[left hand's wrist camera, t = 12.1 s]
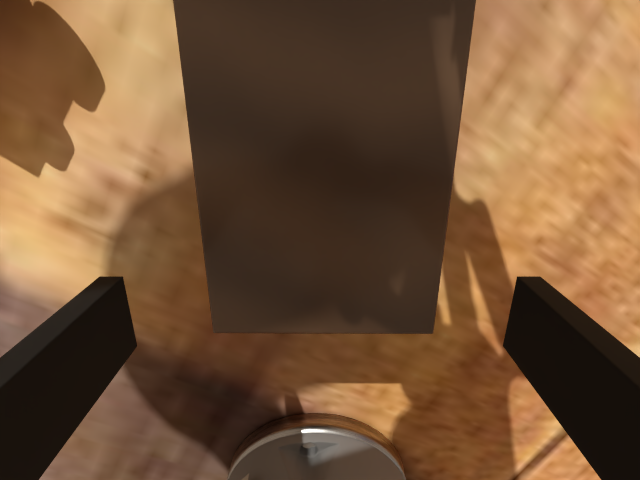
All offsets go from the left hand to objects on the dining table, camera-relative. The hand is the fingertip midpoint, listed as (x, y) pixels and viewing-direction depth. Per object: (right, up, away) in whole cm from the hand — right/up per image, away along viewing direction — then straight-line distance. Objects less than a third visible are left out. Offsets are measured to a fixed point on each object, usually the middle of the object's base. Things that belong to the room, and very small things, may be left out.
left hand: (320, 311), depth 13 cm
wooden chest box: (0, +9, +10) cm, 13 cm away
